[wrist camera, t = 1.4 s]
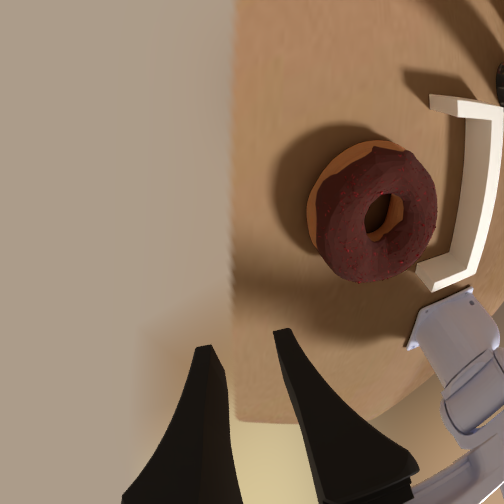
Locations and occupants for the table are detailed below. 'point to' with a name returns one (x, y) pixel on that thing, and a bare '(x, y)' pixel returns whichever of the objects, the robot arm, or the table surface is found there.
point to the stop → (469, 190)
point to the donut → (357, 203)
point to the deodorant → (500, 84)
